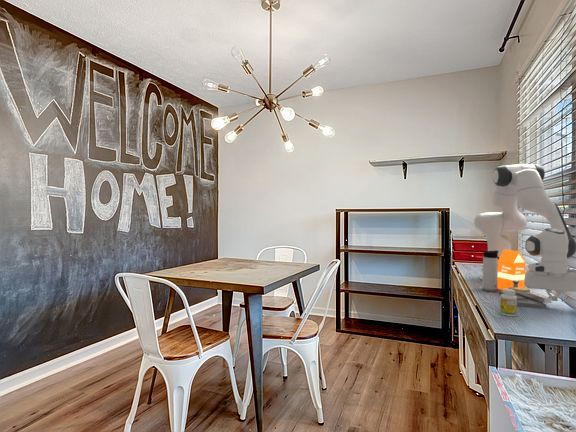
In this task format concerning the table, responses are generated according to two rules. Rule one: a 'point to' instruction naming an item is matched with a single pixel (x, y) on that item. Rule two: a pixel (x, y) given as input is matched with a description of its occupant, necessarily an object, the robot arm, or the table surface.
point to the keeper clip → (519, 289)
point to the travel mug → (490, 270)
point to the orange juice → (510, 269)
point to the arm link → (532, 294)
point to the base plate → (528, 301)
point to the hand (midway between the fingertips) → (553, 300)
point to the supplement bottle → (508, 303)
